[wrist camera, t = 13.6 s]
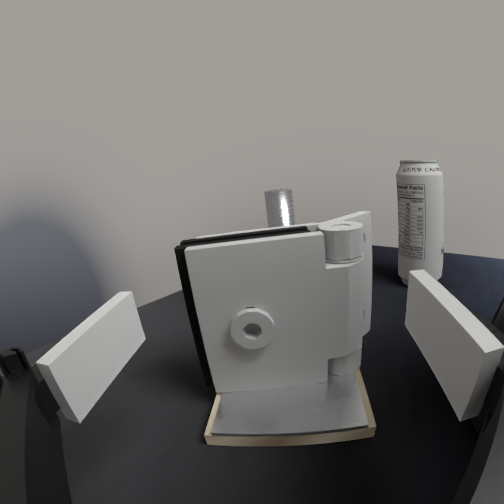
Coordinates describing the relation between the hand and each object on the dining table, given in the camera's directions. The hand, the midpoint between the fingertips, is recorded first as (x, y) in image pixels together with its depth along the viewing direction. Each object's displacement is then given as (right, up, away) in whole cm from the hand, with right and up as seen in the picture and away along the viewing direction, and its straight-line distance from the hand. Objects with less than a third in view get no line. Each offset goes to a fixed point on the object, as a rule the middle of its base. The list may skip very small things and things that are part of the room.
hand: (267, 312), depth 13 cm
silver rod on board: (+2, -5, +9) cm, 11 cm away
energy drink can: (+21, -1, +21) cm, 29 cm away
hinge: (+3, -6, +8) cm, 10 cm away
